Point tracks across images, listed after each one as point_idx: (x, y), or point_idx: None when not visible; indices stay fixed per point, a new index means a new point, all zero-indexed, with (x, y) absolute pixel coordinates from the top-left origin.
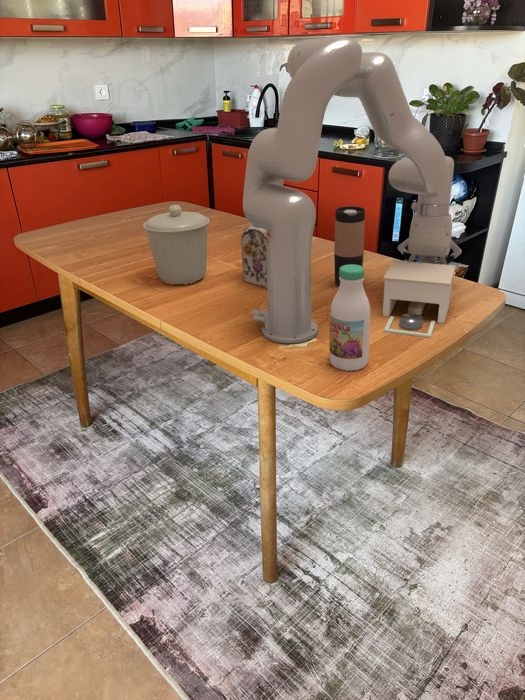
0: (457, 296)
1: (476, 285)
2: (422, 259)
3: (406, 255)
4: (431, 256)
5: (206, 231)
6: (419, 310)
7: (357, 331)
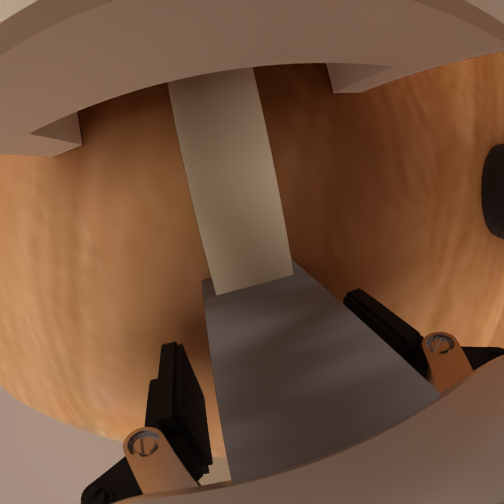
0: (59, 277)
1: (79, 423)
2: (376, 383)
3: (487, 361)
4: (289, 461)
5: None
6: None
7: None
